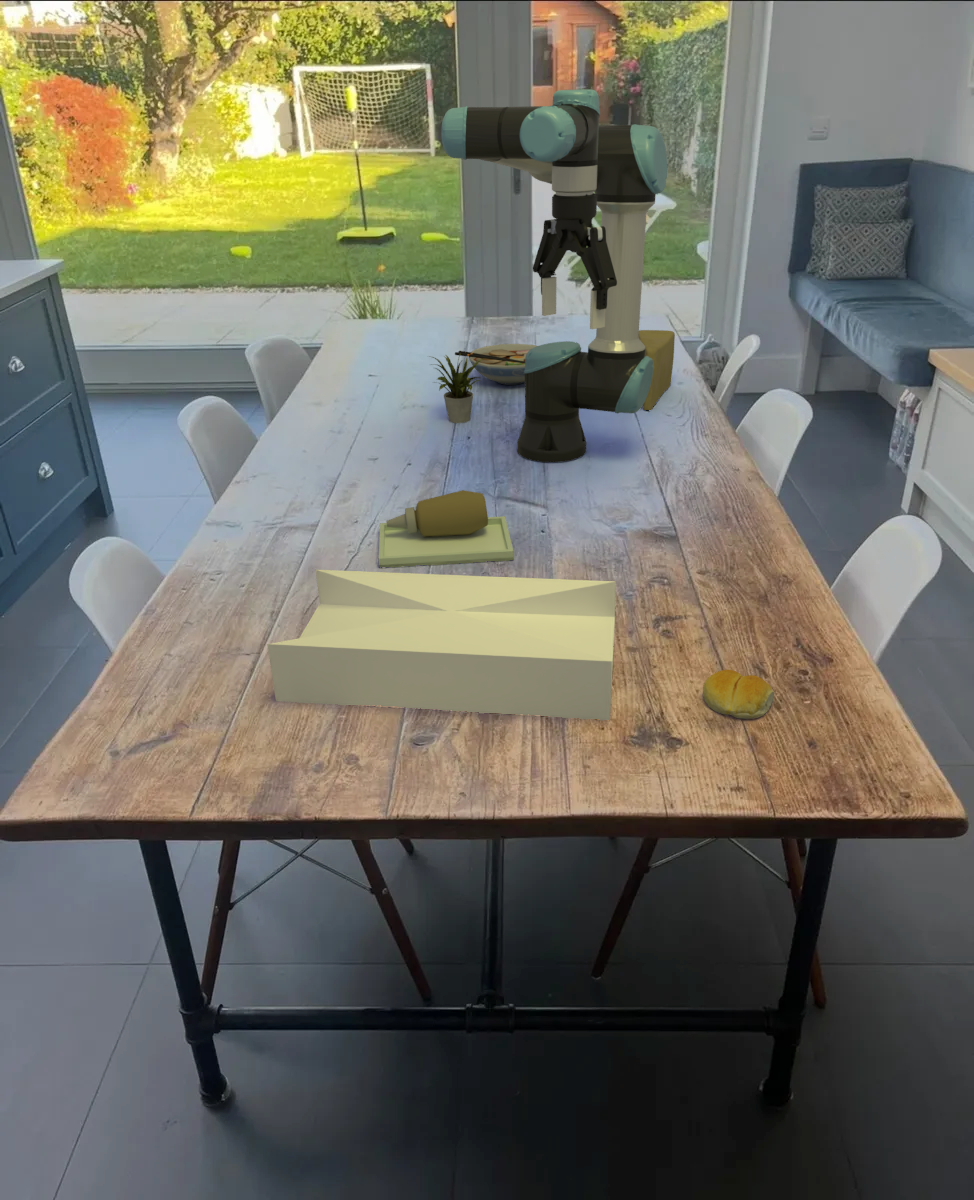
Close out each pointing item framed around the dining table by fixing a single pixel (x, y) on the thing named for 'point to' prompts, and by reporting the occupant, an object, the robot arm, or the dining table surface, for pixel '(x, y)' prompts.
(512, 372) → the ramen bowl
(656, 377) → the cheese
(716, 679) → the bread roll
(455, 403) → the house plant
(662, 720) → the dining table surface
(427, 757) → the dining table surface
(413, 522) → the squeeze bottle
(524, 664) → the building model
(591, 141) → the robot arm
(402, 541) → the tray
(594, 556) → the dining table surface
